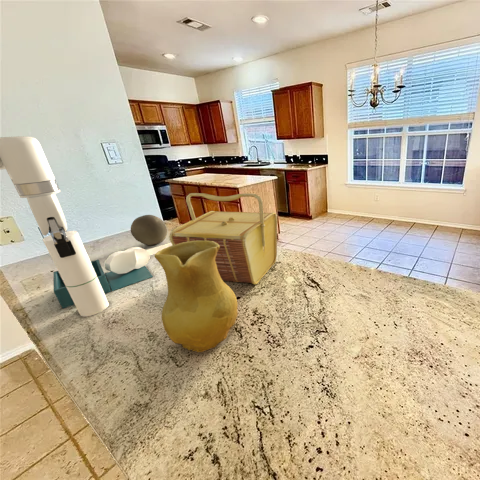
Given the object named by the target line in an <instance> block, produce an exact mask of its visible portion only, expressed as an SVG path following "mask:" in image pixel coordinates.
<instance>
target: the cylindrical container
mask: <svg viewBox="0 0 480 480" xmlns="http://www.w3.org/2000/svg"><path fill="white" fill-rule="evenodd" d="M65 233H66V235H67V237H68V240H70V241H71V243H72V245H73V248H74V250H75V252H76V254H75V255H72V256H68V257H64V258H61V257H60V256H59V254H58V252H57V249H56V247H55V245H54V244H55V243H54V241H53V239H52V236H51V234H49V235H46V236H44V237H43V238H42V242H43V243H44V246H45V248H46V250H47V252H48V253H49V256H50V258H51V260H52V262H53V264H54V266H55V267H56V271H58V272H59V274H60V276H61V278H62V280H63V282H64V284H65V286H66V288H67V290H68V292H69V294H70V296H71V298H72V300H73V302H74V306H75V308H76V310H77V312H78V314H79V316H80V317H91V316H94V315H97V314H100V313H101V312H103V311H105V310H106V309H107V308H109V306H110V303H109V301H108V299H107V296H106V294H104V291H103V289H102V287H101V284H100V282H99V280H98V278H97V275H96V273H95V271H94V268H93V266H92V264H91V259H90V257H89V254H88V253H87V250H86V248H85V245H84V244H83V241H82V239H81V237H80V234H79V232H78V231H77V230H67V231H66V232H65ZM62 234H63V233H62Z"/></svg>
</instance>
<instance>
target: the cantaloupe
mask: <svg viewBox="0 0 480 480" xmlns="http://www.w3.org/2000/svg"><path fill="white" fill-rule="evenodd" d="M130 234H131V235H132V237H133V239H135V241H137V242H139V243H141V244H142V245H146V246H155V245H159V244H161V243H162V242H163V241H164V240H165V239H166V238H167V236H168V227H167V225H166V223H165V221H164V220H163V219H161V218H160V217H158V216H156V215H154V214H144V215H141V216H138V217H136V218H135V219H134V220H133V221H132V223H131V225H130Z"/></svg>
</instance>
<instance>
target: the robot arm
mask: <svg viewBox="0 0 480 480" xmlns="http://www.w3.org/2000/svg"><path fill="white" fill-rule="evenodd" d="M2 170H6V172H7V174H8V177H9V178H10V180H11V182H12V184H13V186H14V188H15V190H16V193H17V194H18V196H19V198H21V199H26V200H27V203H28V205H29V208H30V210H31V213H32V215H33V217H34V219H35V221H36V223H37V226H38V227H39V230H40V232H41V235H42V236H44V237H47V236H48V234H49V235H51V236H52V239H53V241H54V243H55V244H54V245H55V247H56V249H57V252H58V254H59V256H60V257H61V258H64V257H68V256H72V255H75V254H76V252H75V250H74V248H73V245H72V243H71V241H70V240H68V237H67V235H66V233H65V232H66V231H68V224H67V219H66V217H65V214H64V211H63V208H62V206H61V204H60V201H59V198H58V197H57V195H56V194H58V193H61V192H62V191H61V188H60V186H59V185H58V182H57V180H56V177H55V175H54V173H53V171H52V168H51V166H50V164H49V161H48V159H47V156H46V155H45V153H44V150H43V148H42V145H41V143H40V141H39V140H38V139H37V138H35V137H33V136H27V135H25V136H24V135H23V136H19V135H18V136H4V137H3V136H1V137H0V171H2ZM62 233H63V234H62Z"/></svg>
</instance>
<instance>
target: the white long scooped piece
mask: <svg viewBox="0 0 480 480" xmlns="http://www.w3.org/2000/svg"><path fill="white" fill-rule="evenodd" d="M169 246H172V243H171V242H168V243H165V244H161V245H157V246H155V247H152V248H147V249H144V248H142V247H138V246H135V247H134V246H133V247H128V248H127V249H126V250H120V251H119V250H118V251H115V252H113V253H111V254H109V256H108V257H107V258H106V259H105V260H104V261H103V264H104V268H105V271H106V270H107V271H108V272H114V273H117V274H123V273H128V272H129V271H131V270H133V269H139V268H141V267H143V266H145V267H146V266H147V264H148V263H149V261H150V259H151V256H153V255H155V254H156V253H157V252H158V251H161V250H162V249H164V248H167V247H169Z"/></svg>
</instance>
